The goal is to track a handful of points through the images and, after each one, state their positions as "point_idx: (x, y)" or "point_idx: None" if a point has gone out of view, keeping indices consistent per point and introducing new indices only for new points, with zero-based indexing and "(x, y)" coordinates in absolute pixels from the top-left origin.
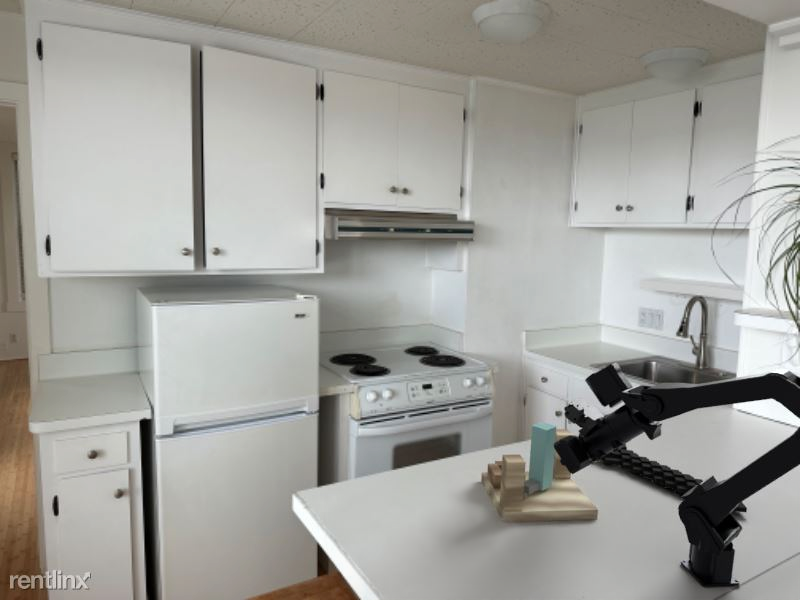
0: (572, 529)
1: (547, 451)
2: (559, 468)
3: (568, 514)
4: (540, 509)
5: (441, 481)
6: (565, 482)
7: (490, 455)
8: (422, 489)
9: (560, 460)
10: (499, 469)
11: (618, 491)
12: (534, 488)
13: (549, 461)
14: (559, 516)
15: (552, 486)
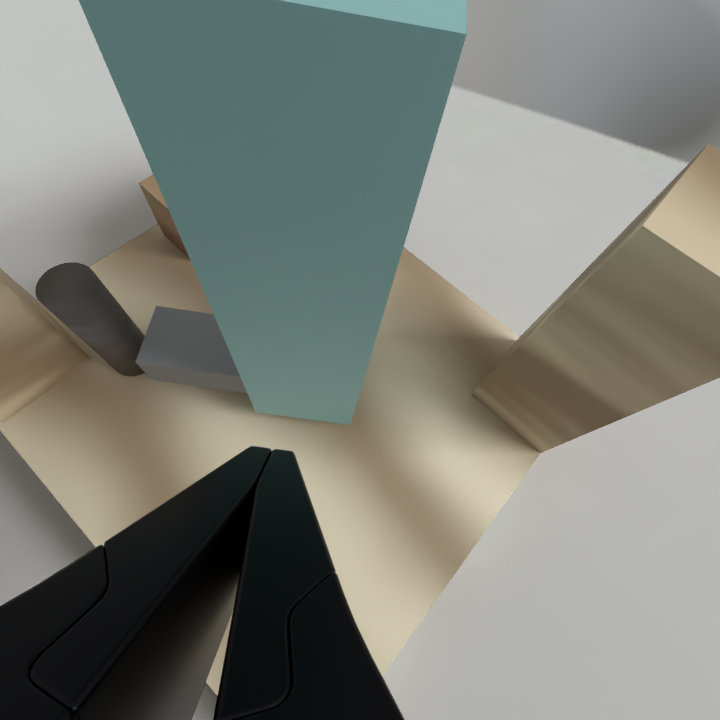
0: None
1: (242, 288)
2: (511, 387)
3: None
4: (74, 489)
5: None
6: (477, 452)
7: (494, 128)
8: (83, 79)
9: (241, 454)
10: None
11: (704, 699)
12: (200, 379)
13: (303, 351)
14: None
15: (380, 420)
